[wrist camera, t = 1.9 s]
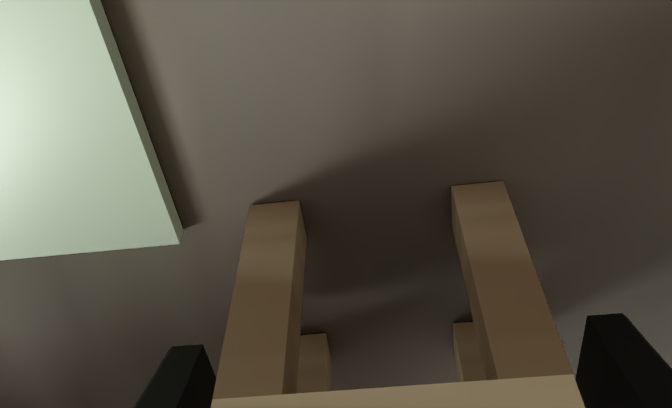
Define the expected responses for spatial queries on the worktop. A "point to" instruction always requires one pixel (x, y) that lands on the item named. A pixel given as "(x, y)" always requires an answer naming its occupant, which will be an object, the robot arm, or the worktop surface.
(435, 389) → the stool
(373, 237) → the worktop surface
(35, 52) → the mat
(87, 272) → the worktop surface
